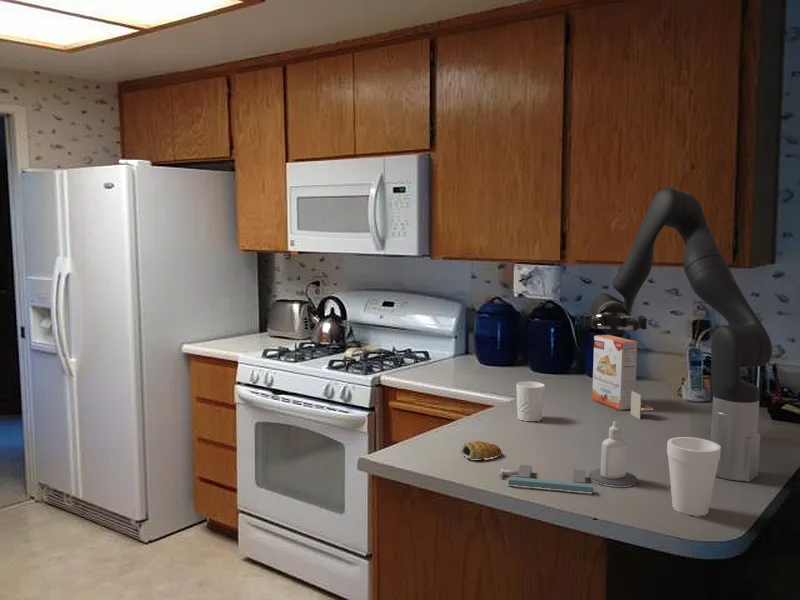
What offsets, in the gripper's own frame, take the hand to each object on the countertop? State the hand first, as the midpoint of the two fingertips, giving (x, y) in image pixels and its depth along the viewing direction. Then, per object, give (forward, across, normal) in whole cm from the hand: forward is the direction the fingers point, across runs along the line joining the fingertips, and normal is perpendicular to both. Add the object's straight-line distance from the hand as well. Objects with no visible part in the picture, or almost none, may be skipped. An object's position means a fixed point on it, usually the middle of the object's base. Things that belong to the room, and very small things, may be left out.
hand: (615, 325), depth 165 cm
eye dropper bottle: (+12, 0, +32) cm, 34 cm away
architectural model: (-46, +9, +33) cm, 57 cm away
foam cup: (+26, +14, +32) cm, 44 cm away
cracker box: (-58, +3, +32) cm, 66 cm away
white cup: (-34, -21, +32) cm, 51 cm away
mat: (+12, 0, +32) cm, 34 cm away
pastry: (+4, -30, +32) cm, 44 cm away
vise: (+17, -14, +32) cm, 39 cm away
